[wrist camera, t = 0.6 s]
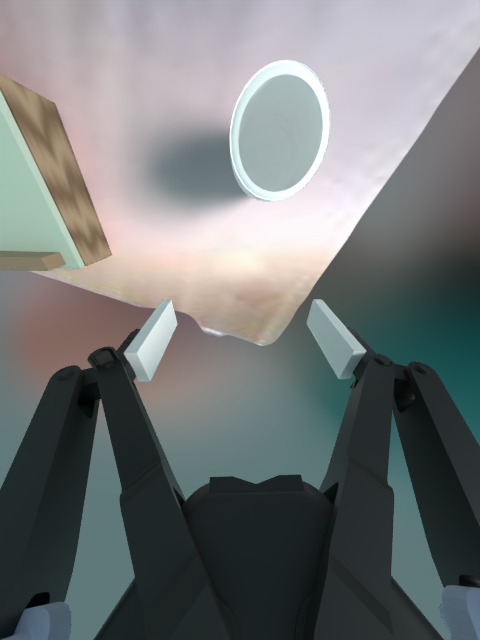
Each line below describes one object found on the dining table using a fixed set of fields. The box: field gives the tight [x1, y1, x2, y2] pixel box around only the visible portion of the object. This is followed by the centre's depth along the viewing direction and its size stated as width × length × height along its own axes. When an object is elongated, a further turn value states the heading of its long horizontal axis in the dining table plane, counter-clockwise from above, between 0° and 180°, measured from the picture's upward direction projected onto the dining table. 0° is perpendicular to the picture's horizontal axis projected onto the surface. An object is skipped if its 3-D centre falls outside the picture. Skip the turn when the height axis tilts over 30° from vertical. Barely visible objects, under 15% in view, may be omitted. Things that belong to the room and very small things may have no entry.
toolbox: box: [0, 73, 112, 266], centre depth 28 cm, size 22×14×8 cm, turn 178°
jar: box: [230, 60, 330, 201], centre depth 24 cm, size 11×10×15 cm
